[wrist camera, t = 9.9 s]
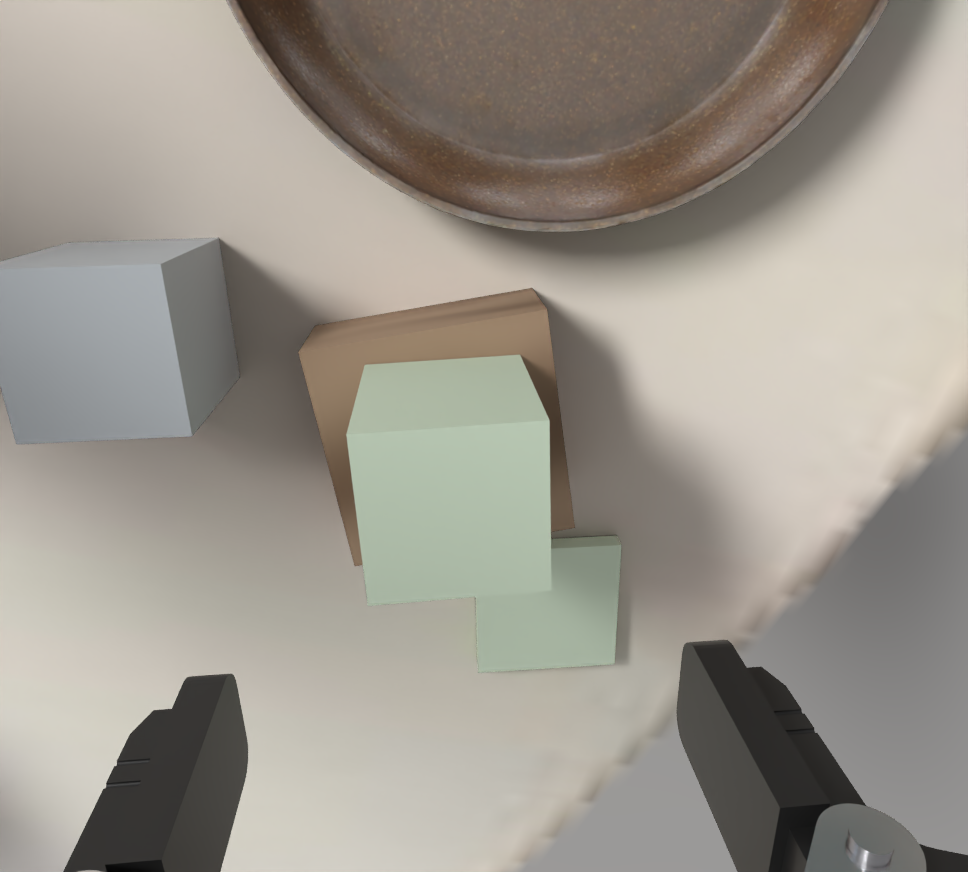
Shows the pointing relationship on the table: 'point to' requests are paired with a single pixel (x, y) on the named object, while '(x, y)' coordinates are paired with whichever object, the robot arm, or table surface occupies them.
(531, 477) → the sage cube
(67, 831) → the table surface
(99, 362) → the slate cube
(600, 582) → the sage tile
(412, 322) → the walnut block
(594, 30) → the plant saucer
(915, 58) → the table surface
